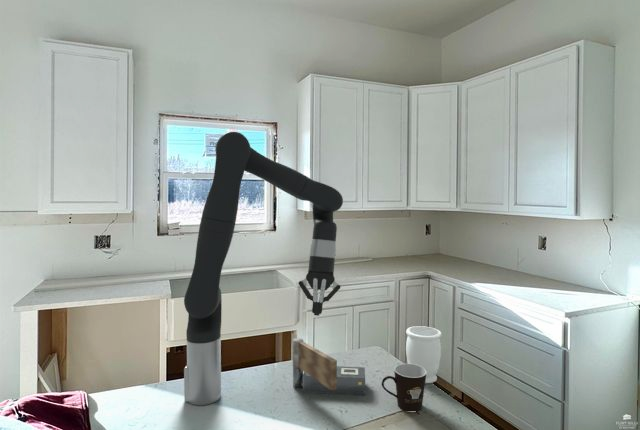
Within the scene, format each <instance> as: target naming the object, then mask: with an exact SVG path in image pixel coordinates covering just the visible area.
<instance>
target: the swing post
mask: <svg viewBox="0 0 640 430" xmlns="http://www.w3.org/2000/svg"><path fill="white" fill-rule="evenodd" d="M303 374H304V371H302V370H301V369H299V368H295V367H293V366H292V387H293V388H295V389H301V388H302V389H303Z"/></svg>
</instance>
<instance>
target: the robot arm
mask: <svg viewBox="0 0 640 430" xmlns="http://www.w3.org/2000/svg"><path fill="white" fill-rule="evenodd" d="M214 148H215V163H214V164H215V165H214V172H213V178H212V183H211V186H210V189H209V191H208V194H207V197H206V200H205V203H204V206H203V209H202V215H201V218H200V223H199V228H198V235H197V241H196V249H195V258H194V266H193V270H192V273H191V276H190V280H189V283H188V286H187V288H186V291H185V295H184V297H183V298H184V299H183V303H184V308H185V311H186V312H187V314H188V318H187V327H186V365H185V367H184V368H183V375H184V376H183V381H184V383H183V388H184V389H183V391H184V392H183V393H184V394H183V395H184V396H183V397H184V402H187V403H189V404H191V405H194V406H205V405H209V404H213V403H215V402H217V401H219V400H220V398H221V397H222V363H221V362H222V354H221V353H222V352H221V350H222V344H221V343H222V340H221V338H222V335H221V334H222V333H221V331H222V311H223V310H222V300H223V299H222V290H221V288H220V282H221V281H220V280H221V275H222V270H223V267H224V263H225V260H226V258H227V255H228V252H229V249H230V247H231V243H232V240H233V236H234V231H235V227H236V222H237V216H238V208H239V199H240V189H241V185H242V180H243V176H244V173H245V172H247V173H248V174H249V173H250V174H251V175H253V176H256V177H258V178H259V179H261V180H264V181H265V182H267V183H269V184H271V186H272V185H273V186H274V187H275V188H278V189H279V190H281V191H283V192H285V193H286V194H288V195H290V196H293V197H294V198H295V199H298V200H299V201H300V200H301V201H303V202H304V201H306V202H310V203H312V219H313V228H312V229H313V230H312V240H311V244H310V250H309V260H308V261H309V262H308V271H307V274H306V275H305V278H303V279H302V280H300V281H298V286H299V287H300V288H301V291H302V292H303V293H304V294H305V297H306V298H307V299H308V300H310V301H311V302H312V306H311V307H312V309H311V312H312V314H313V315H314V316H317V317H319V316H320V315H321V314H322V312H323V306H324V305H323V304H324V302H325V303H326V302H329V301H330V300H331V299H332V298H333V296H335V294H337V292H338V291H339V290H340V289H341V288H342V287H341V284H339V283H337V281H336V279H335V276H334V274H335V273H334V272H335V263H336V251H337V249H336V248H337V247H336V242H337V241H336V240H337V230H338V228H337V227H338V226H337V224H336V222H334V213H335V212H337V211H339V210H340V209H342V207H343V203H344V199H343V196H342V194H341V192H340V191H338V189H336V188H334V187H332V186H330V185H328V184H325V183H323V182H320V181H317V180H313V179H311V178H310V177H309V176H307V175H306V174H305V175H304V174H303V173H301V172H299V171H297V170H296V169H294V168H292V167H289V166H287V165H285V164H282V163H280V162H277V161H275V160H272V159H271V158H269V157H266V156H265V155H263V154H261V153H260V152H258V151H257V150H255V149H254V148H252V147H251V143H250V142H249V139H248V138H247V137H246V136H245V135H244V134H243V133H241V132H238V131H228V132H226V133H224V134H222V135H221V136H220V137H219V138H218V140H217V142H216V145H215V147H214ZM308 285H309V287H310V288H311V289H312V294H311V292H310V290H309V289H308V287H307V286H308ZM330 287H331V288H332V290H331V291H330V292H329V293H328V294H327V295H326V296H325V293H326V291H327V290H328V289H329V288H330Z"/></svg>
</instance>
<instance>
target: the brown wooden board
mask: <svg viewBox="0 0 640 430" xmlns="http://www.w3.org/2000/svg"><path fill="white" fill-rule="evenodd" d="M337 366H338V361H337V360H336V359H335V358H333V357H331V356H329V355H327V354H326V353H324V352H323V351H321V350H319V349H318V348H316V347H313V346H311V345H310V344H308V343H306V342H305V341H304V338H303V339H302V338H293V339H292V368H293V367H295V368H299V369H301V370H302V371H303V373H304V372H305V373H307V374H308V375H310V376H311V377H313V378H314V379H316V380H317V381H318V382H320V383H321V384H323V385H324V386H326V387H327V388H329V389H330V390H332V391H333V390H336V389H337Z"/></svg>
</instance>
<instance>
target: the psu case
mask: <svg viewBox="0 0 640 430" xmlns="http://www.w3.org/2000/svg"><path fill="white" fill-rule="evenodd" d="M302 392H303V393H315V394H332V395H333V394H335V395H336V394H337V395H355V396H356V395H357V396H365V395H366V366H365V367H361V366H344V365H343V366H339V365H337V389H336V390H333V391H332V390H330V389H329V388H327V387H326V386H324V385H323V384H321V383H320V382H318V381H317V380H316V379H314V378H313V377H311V376H310V375H308V374H307V373H305V372H304V371H303V387H302Z"/></svg>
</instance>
